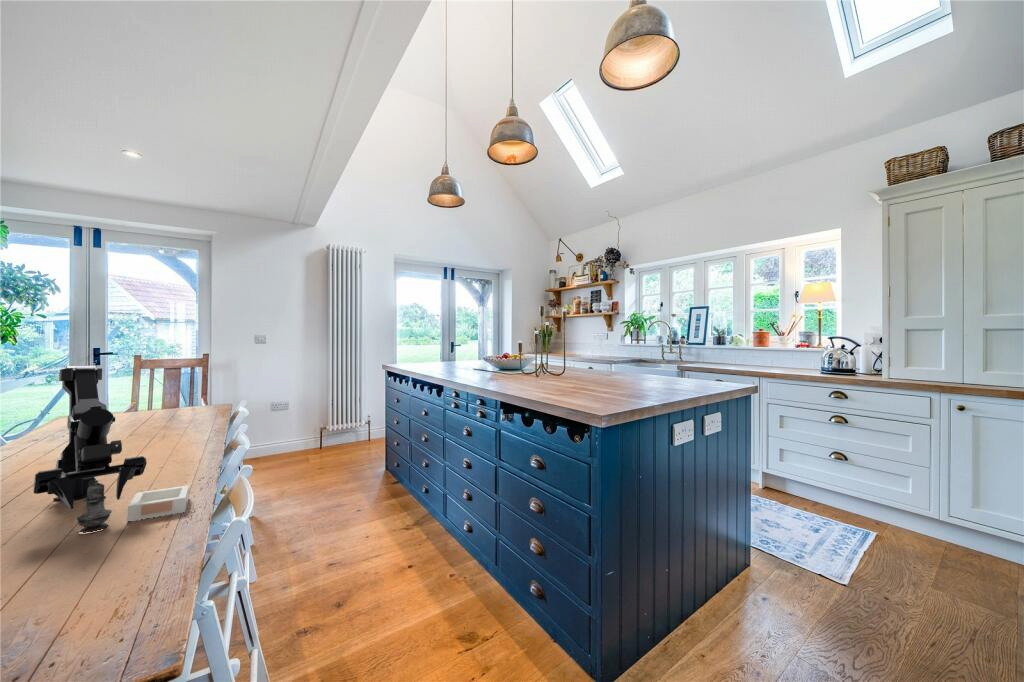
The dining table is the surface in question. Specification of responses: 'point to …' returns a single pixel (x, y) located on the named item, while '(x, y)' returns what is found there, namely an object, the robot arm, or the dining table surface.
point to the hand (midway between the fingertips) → (96, 503)
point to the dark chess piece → (94, 510)
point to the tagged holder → (158, 503)
